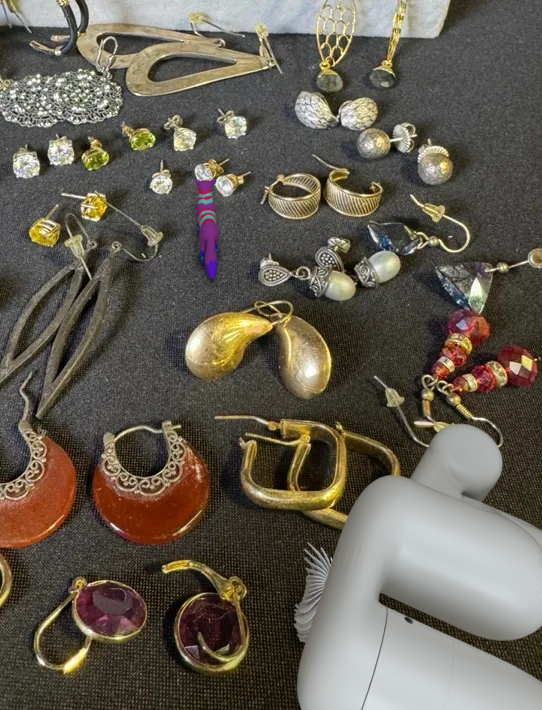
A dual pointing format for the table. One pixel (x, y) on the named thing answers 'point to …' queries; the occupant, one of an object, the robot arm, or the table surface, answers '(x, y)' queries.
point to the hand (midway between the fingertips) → (403, 554)
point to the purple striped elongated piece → (207, 226)
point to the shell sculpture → (311, 594)
